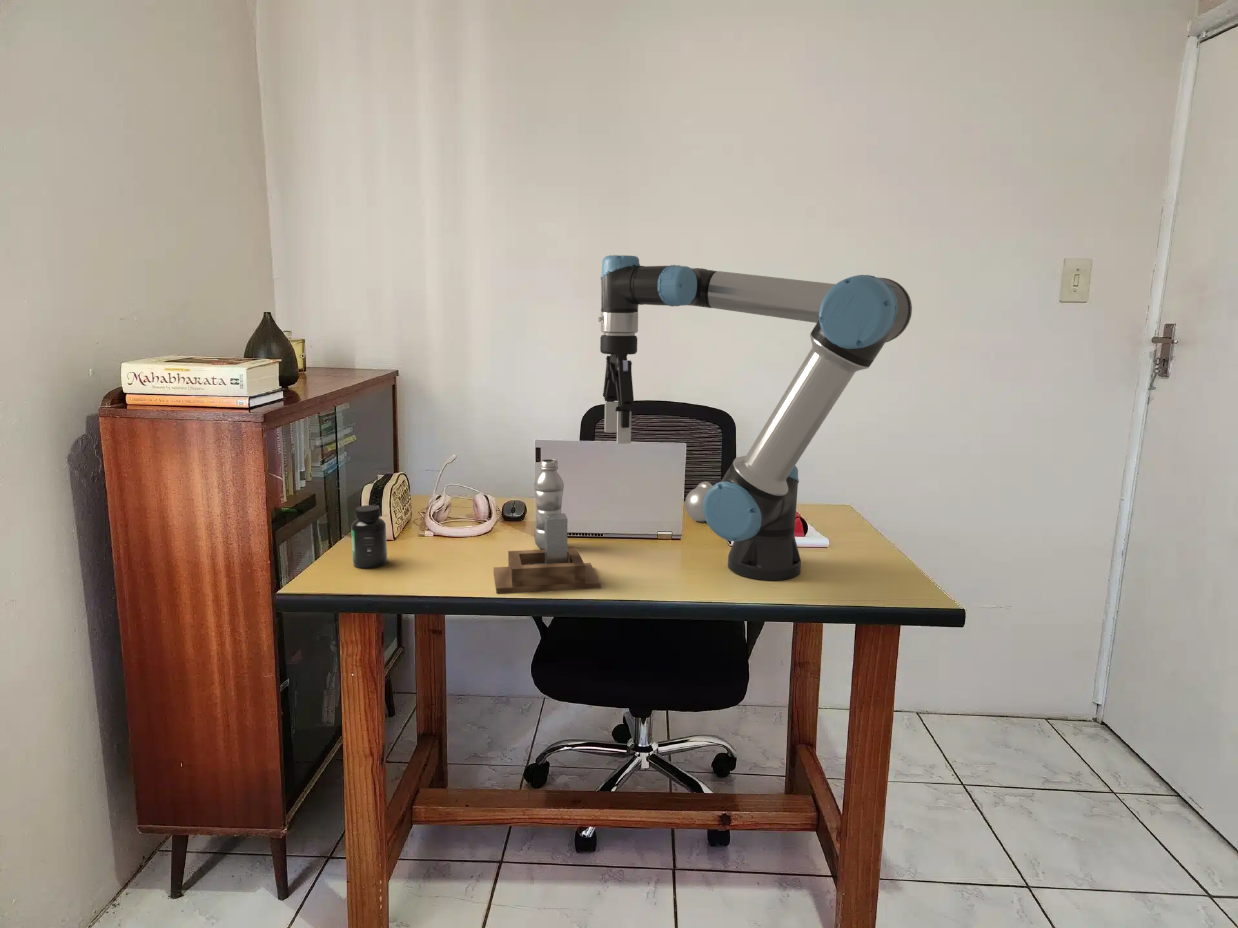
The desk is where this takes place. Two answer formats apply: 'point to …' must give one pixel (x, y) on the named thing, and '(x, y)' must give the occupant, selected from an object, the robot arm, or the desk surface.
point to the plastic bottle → (547, 496)
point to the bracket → (555, 539)
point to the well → (543, 573)
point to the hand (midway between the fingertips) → (617, 437)
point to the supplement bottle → (369, 538)
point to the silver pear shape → (697, 501)
